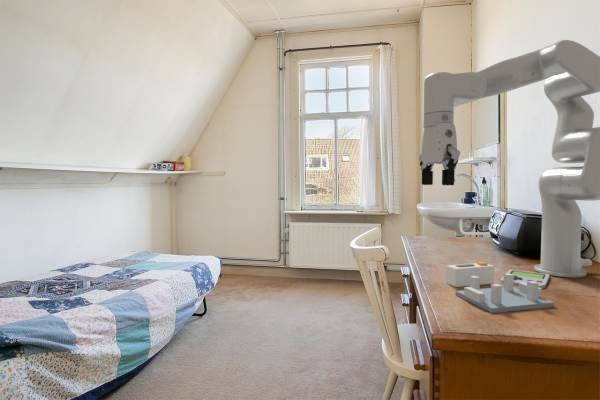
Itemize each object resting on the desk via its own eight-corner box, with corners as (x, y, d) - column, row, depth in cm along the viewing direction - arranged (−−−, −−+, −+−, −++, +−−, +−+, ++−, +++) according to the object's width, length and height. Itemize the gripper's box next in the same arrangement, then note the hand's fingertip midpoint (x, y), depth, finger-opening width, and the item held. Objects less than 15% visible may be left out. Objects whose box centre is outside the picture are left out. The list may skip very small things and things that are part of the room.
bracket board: (512, 290, 89) (512, 270, 89) (555, 306, 77) (555, 284, 77) (454, 295, 86) (455, 275, 86) (490, 312, 74) (491, 289, 74)
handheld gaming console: (499, 278, 96) (509, 268, 107) (499, 284, 96) (509, 273, 107) (544, 285, 89) (549, 273, 101) (544, 291, 89) (549, 278, 101)
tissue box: (482, 280, 99) (483, 260, 99) (493, 284, 95) (494, 263, 95) (445, 283, 96) (446, 263, 96) (455, 287, 92) (455, 266, 92)
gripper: (472, 115, 86) (470, 185, 87) (432, 126, 103) (431, 184, 104) (445, 114, 84) (443, 185, 85) (409, 125, 101) (408, 184, 102)
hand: (437, 185), depth 95 cm, fingers open, 9 cm apart
